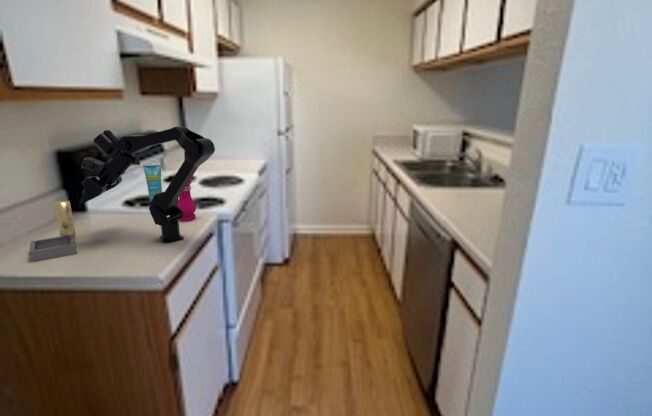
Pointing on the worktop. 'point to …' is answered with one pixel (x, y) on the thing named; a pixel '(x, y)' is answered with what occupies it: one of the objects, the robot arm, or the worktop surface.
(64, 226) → the beige tall cylinder
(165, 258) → the worktop surface
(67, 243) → the collar
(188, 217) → the pepper mill
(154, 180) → the tube
